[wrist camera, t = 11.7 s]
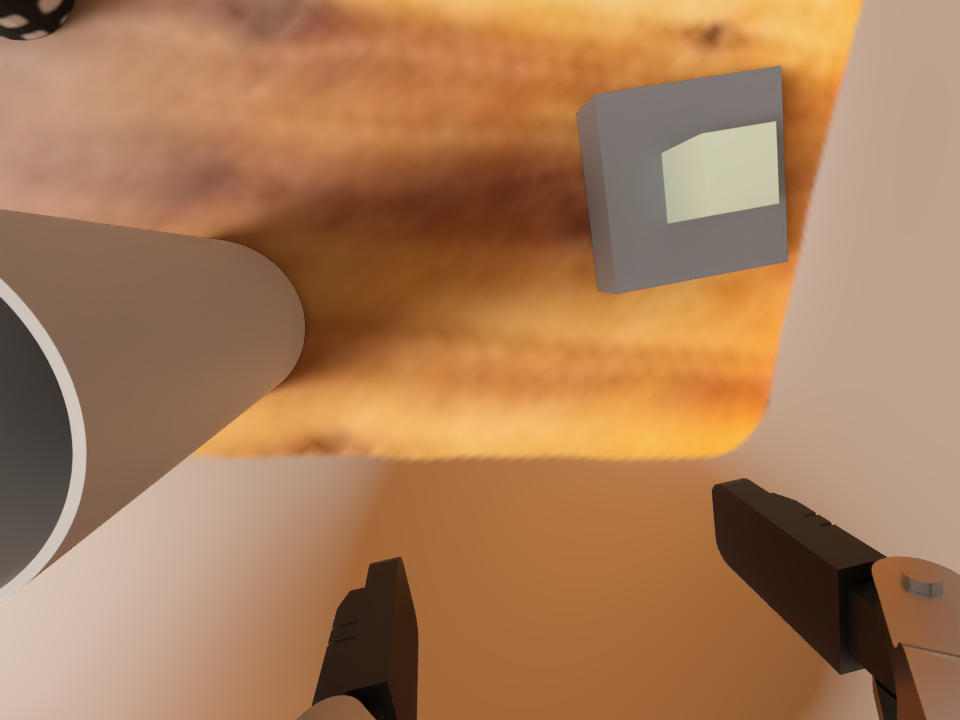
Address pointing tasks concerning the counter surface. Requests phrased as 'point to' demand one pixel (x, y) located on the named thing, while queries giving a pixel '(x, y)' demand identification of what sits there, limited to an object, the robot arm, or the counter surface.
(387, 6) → the counter surface
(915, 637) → the robot arm
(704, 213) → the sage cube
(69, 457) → the cylinder vase
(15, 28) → the spotted tube
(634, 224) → the plinth
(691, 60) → the counter surface
